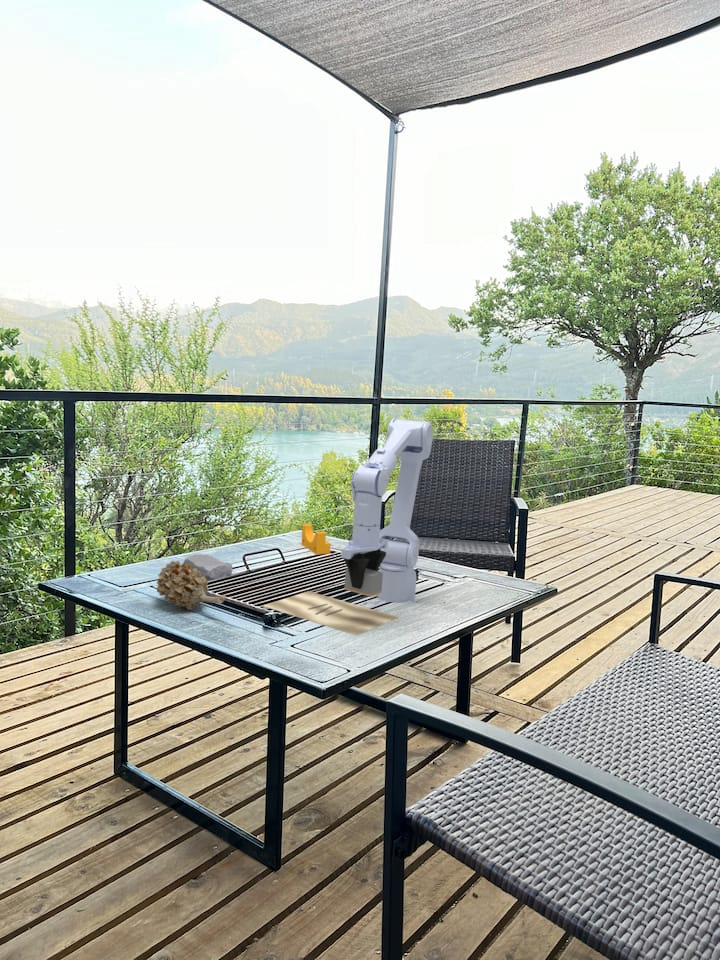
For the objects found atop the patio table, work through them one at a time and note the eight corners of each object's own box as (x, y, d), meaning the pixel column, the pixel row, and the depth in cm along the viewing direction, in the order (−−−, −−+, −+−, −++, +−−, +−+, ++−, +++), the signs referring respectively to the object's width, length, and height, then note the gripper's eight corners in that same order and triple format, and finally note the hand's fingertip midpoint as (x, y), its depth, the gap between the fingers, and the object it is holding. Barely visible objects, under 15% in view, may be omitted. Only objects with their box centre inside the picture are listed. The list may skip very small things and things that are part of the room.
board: (308, 597, 189) (308, 590, 189) (398, 623, 174) (398, 616, 174) (262, 612, 176) (262, 605, 176) (355, 642, 161) (356, 635, 161)
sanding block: (355, 585, 173) (356, 565, 172) (381, 592, 169) (382, 572, 168) (344, 589, 169) (345, 569, 169) (370, 596, 165) (372, 576, 165)
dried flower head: (143, 603, 177) (143, 561, 175) (175, 594, 185) (176, 553, 183) (213, 627, 165) (215, 581, 163) (245, 616, 173) (246, 572, 171)
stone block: (210, 571, 212) (179, 570, 205) (214, 554, 212) (182, 552, 205) (236, 583, 204) (204, 582, 197) (240, 565, 204) (209, 564, 197)
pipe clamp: (330, 554, 232) (331, 532, 230) (316, 554, 230) (317, 533, 229) (314, 544, 242) (315, 523, 241) (301, 545, 240) (302, 524, 239)
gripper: (370, 516, 175) (367, 575, 177) (331, 525, 163) (327, 588, 165) (397, 521, 171) (393, 581, 173) (358, 531, 159) (354, 595, 161)
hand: (362, 585), depth 169 cm, fingers closed on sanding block, 4 cm apart
